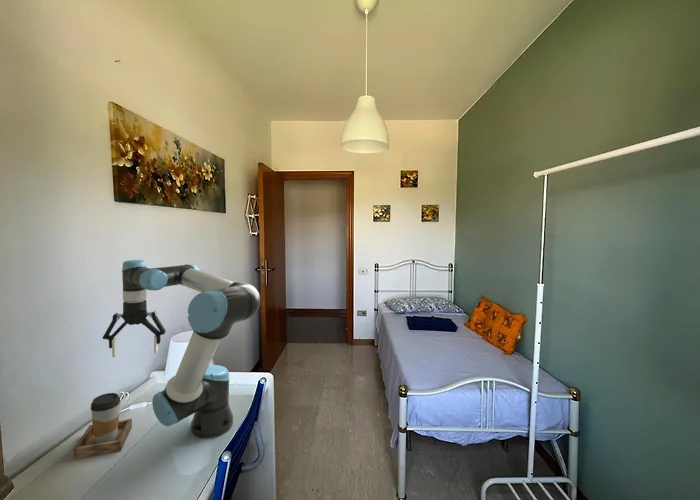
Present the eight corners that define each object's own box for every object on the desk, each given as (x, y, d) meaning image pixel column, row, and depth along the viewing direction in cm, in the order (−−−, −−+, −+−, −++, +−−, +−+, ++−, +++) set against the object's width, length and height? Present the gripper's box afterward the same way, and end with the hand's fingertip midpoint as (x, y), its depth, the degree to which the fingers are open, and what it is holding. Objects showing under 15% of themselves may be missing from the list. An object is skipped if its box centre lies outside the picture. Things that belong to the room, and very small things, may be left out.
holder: (131, 427, 120) (131, 418, 120) (121, 450, 108) (120, 441, 108) (90, 434, 115) (89, 425, 115) (73, 459, 103) (73, 449, 103)
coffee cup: (126, 433, 115) (126, 394, 114) (103, 449, 107) (103, 407, 106) (108, 429, 117) (108, 390, 116) (84, 444, 109) (84, 402, 108)
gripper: (173, 296, 130) (173, 346, 131) (98, 299, 120) (99, 353, 122) (170, 301, 123) (170, 353, 124) (91, 304, 113) (92, 361, 115)
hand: (135, 353), depth 123 cm, fingers open, 13 cm apart
